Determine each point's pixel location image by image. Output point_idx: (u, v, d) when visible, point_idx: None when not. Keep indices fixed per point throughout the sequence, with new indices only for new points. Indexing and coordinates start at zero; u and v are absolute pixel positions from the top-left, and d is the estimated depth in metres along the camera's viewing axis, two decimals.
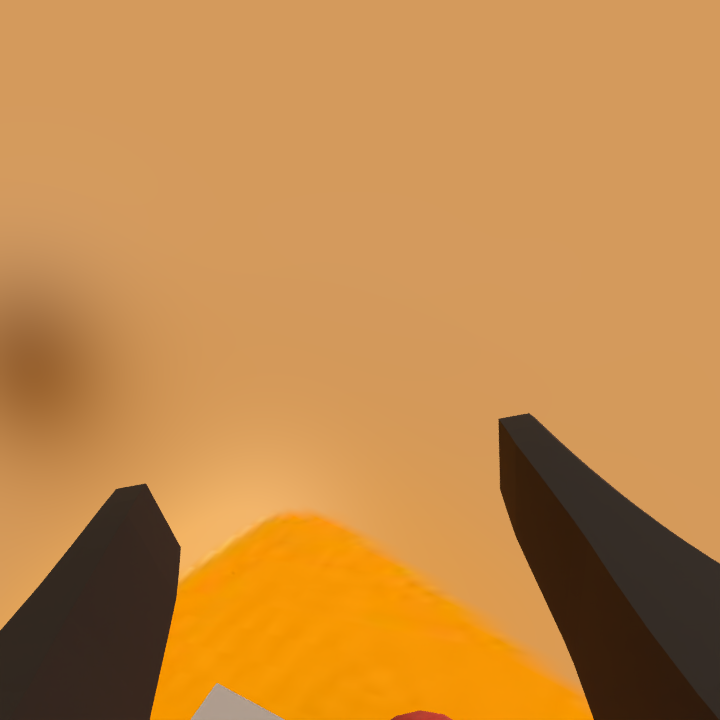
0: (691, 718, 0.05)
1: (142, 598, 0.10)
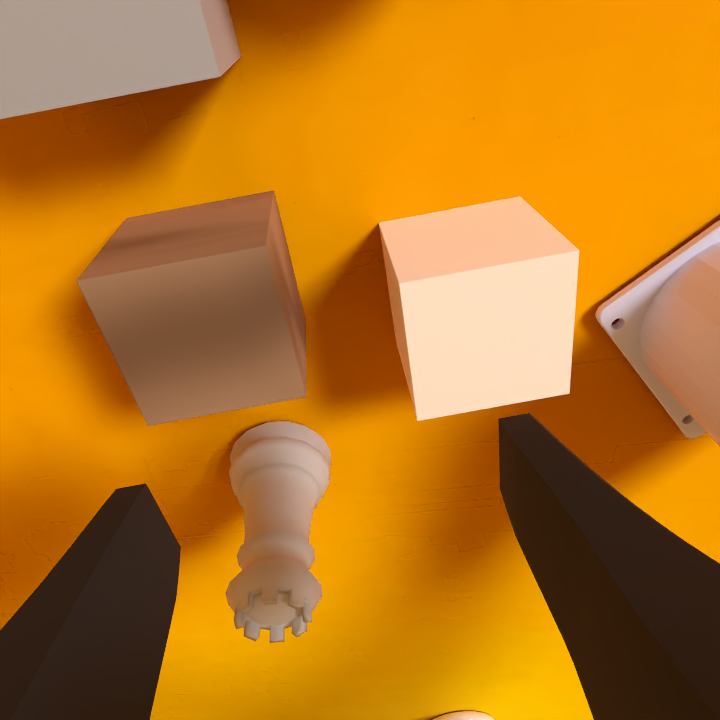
0: (691, 718, 0.05)
1: (142, 598, 0.10)
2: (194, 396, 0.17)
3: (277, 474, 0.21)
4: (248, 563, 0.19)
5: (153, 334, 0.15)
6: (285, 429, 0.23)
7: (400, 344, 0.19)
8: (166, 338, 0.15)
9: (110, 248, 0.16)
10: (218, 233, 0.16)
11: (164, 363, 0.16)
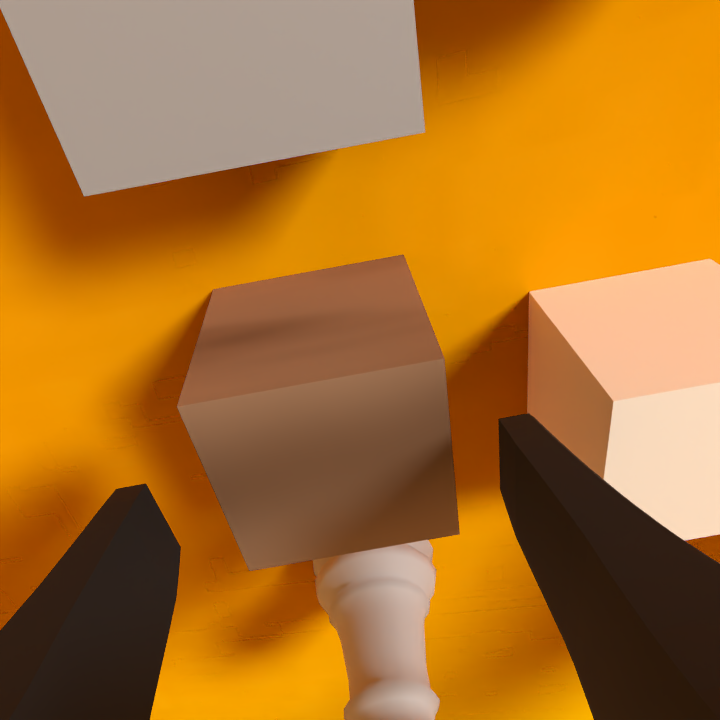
0: (691, 718, 0.05)
1: (142, 598, 0.10)
2: (315, 537, 0.12)
3: (383, 594, 0.17)
4: None
5: (273, 467, 0.11)
6: None
7: None
8: (289, 473, 0.11)
9: (208, 344, 0.12)
10: (359, 328, 0.11)
11: (281, 501, 0.12)
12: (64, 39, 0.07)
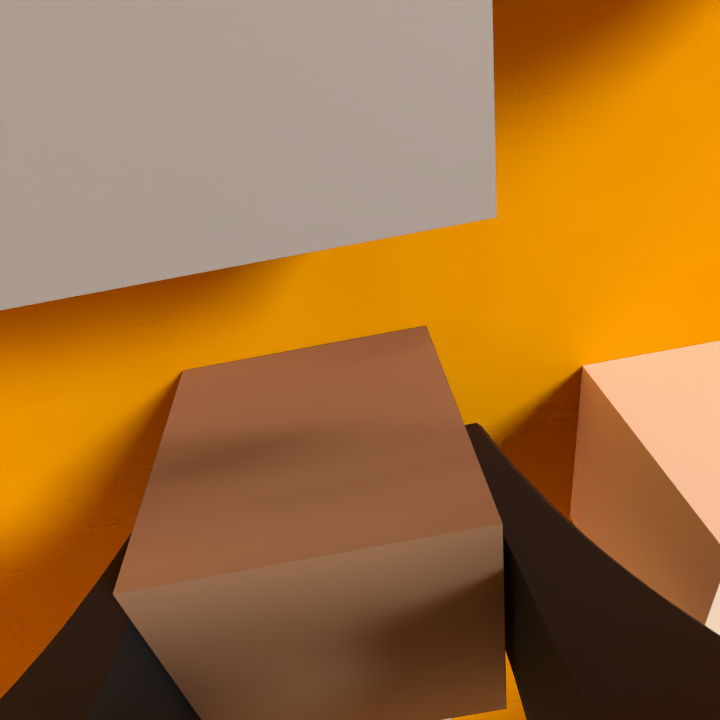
0: None
1: None
2: None
3: None
4: None
5: (256, 654, 0.08)
6: None
7: (613, 556, 0.12)
8: (279, 658, 0.08)
9: (167, 471, 0.09)
10: (373, 455, 0.08)
11: (268, 688, 0.09)
12: None
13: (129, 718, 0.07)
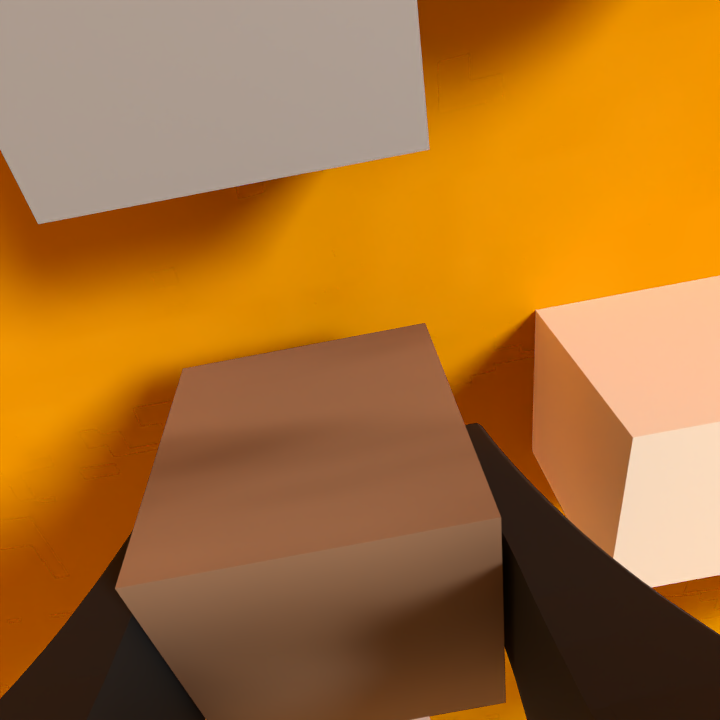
0: None
1: None
2: (315, 715, 0.09)
3: None
4: None
5: (257, 648, 0.08)
6: None
7: (563, 473, 0.14)
8: (280, 652, 0.08)
9: (168, 467, 0.09)
10: (373, 450, 0.08)
11: (269, 682, 0.09)
12: (7, 43, 0.06)
13: (128, 718, 0.07)
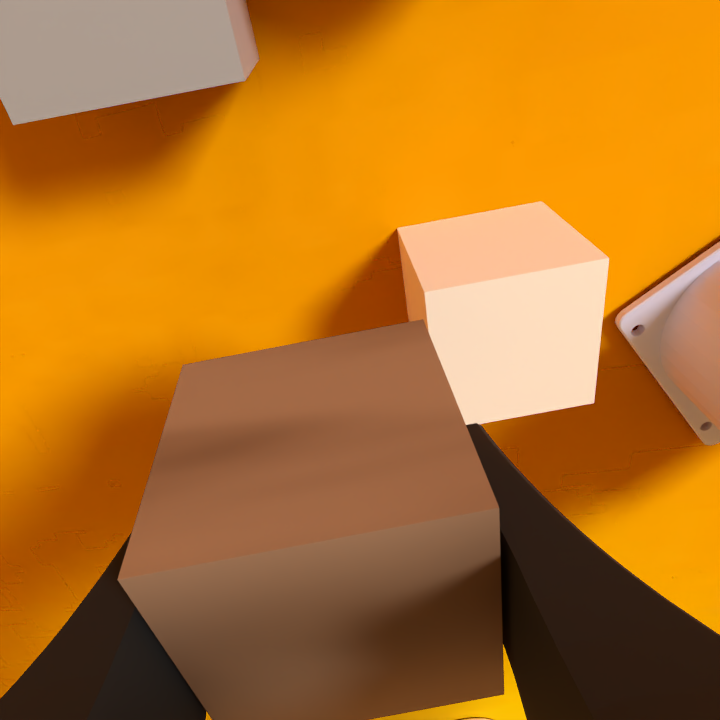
0: None
1: None
2: (316, 707, 0.09)
3: None
4: None
5: (258, 640, 0.08)
6: None
7: None
8: (280, 644, 0.08)
9: (169, 461, 0.09)
10: (373, 443, 0.08)
11: (270, 675, 0.09)
12: None
13: (129, 718, 0.07)
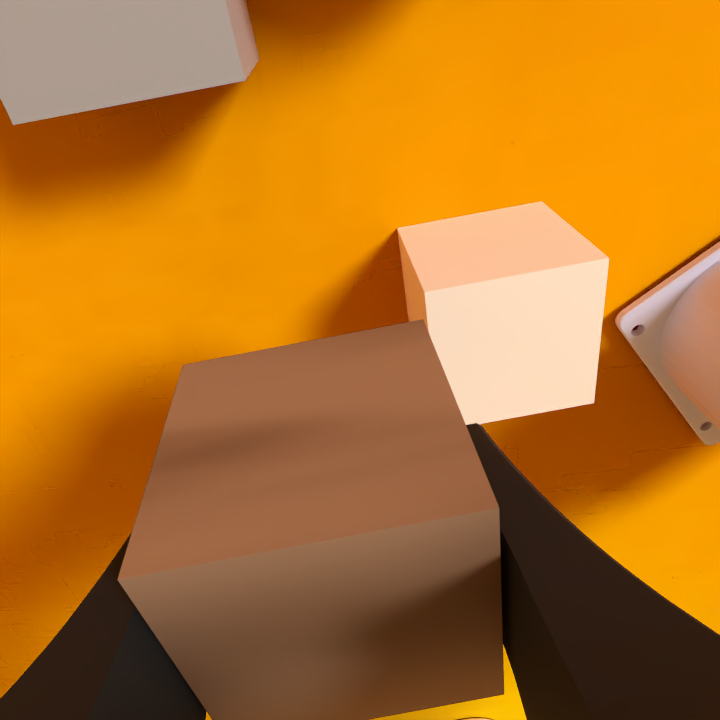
0: None
1: None
2: (316, 707, 0.09)
3: None
4: None
5: (258, 639, 0.08)
6: None
7: None
8: (280, 644, 0.08)
9: (169, 461, 0.09)
10: (373, 443, 0.08)
11: (270, 675, 0.09)
12: None
13: (129, 718, 0.07)
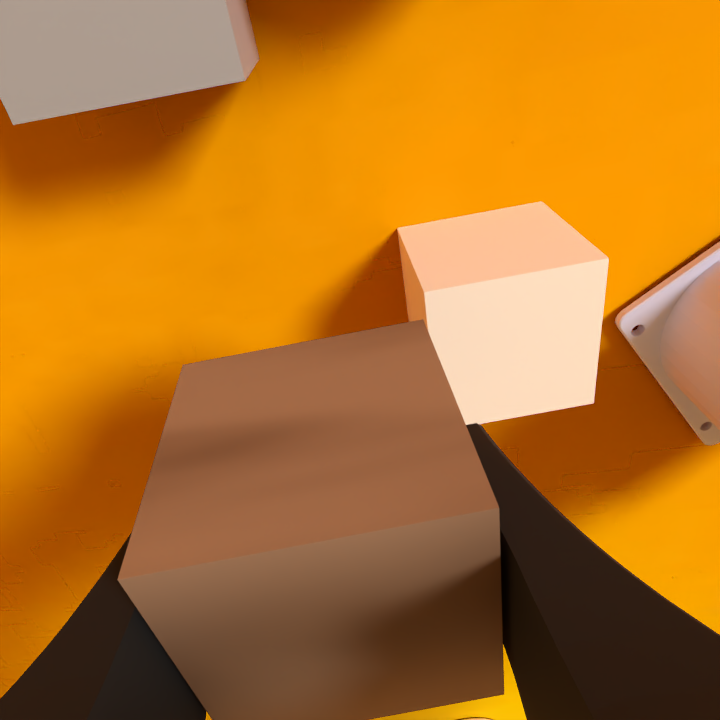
0: None
1: None
2: (316, 707, 0.09)
3: None
4: None
5: (258, 639, 0.08)
6: None
7: None
8: (280, 644, 0.08)
9: (169, 461, 0.09)
10: (373, 443, 0.08)
11: (270, 675, 0.09)
12: None
13: (129, 718, 0.07)
